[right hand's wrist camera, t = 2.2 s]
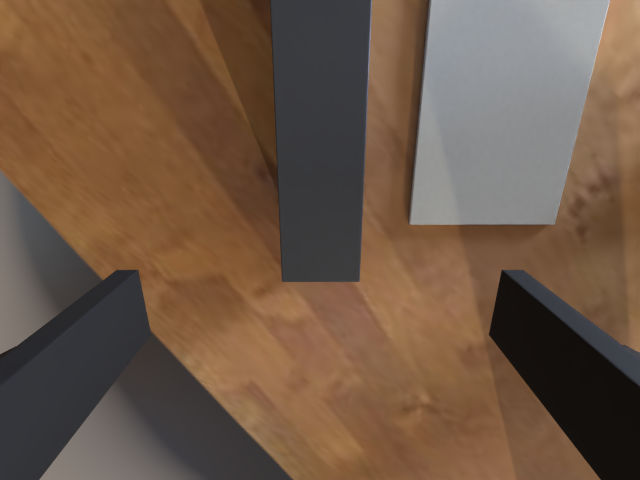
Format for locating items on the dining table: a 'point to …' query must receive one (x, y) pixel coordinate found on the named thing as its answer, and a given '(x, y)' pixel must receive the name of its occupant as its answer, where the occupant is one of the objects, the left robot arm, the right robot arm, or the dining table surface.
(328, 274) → the beam
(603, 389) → the right robot arm
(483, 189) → the mat
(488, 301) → the dining table surface
